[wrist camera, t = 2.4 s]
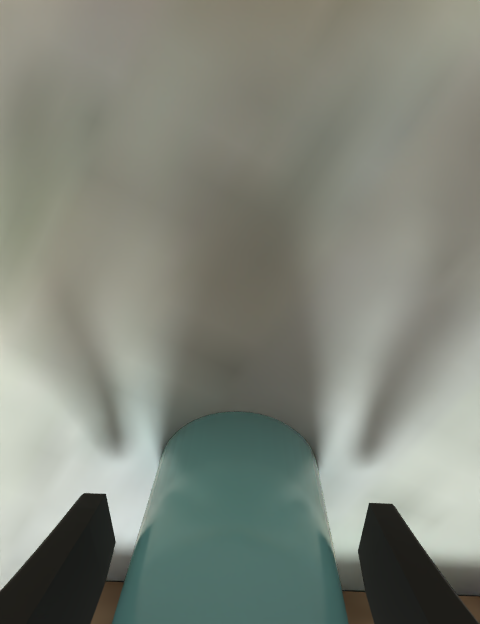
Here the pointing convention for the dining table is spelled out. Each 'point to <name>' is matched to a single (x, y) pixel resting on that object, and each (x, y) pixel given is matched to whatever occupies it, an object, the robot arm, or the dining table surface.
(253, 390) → the dining table surface
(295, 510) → the teal round canister
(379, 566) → the robot arm
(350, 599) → the walnut shelf
